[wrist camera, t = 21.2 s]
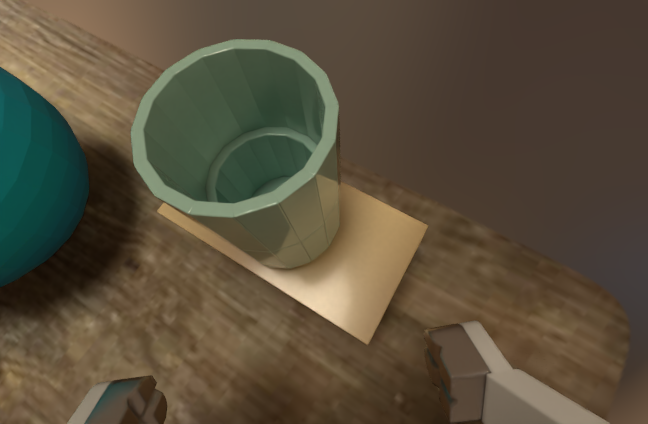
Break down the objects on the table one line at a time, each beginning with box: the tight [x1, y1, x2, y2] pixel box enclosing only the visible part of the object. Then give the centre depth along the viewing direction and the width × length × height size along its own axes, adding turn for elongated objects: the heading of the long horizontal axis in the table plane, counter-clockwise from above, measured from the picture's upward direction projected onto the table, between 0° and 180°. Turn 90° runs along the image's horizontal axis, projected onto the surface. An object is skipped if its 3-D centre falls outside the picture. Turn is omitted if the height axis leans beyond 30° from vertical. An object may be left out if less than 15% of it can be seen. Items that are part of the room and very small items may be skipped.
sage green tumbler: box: [131, 39, 341, 269], centre depth 13 cm, size 6×6×9 cm
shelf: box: [157, 182, 428, 345], centre depth 20 cm, size 14×7×6 cm, turn 59°
